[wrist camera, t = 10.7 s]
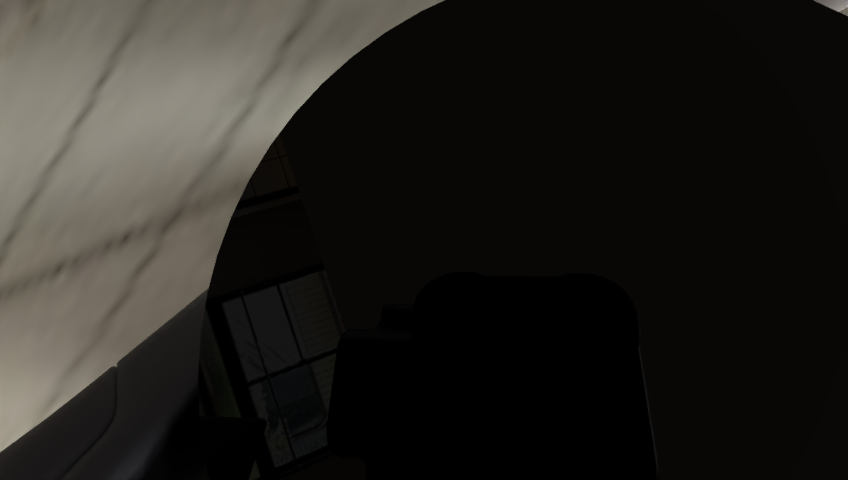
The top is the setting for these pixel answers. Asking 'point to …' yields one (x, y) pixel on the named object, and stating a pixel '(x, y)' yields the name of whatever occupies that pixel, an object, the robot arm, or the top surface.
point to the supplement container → (547, 253)
